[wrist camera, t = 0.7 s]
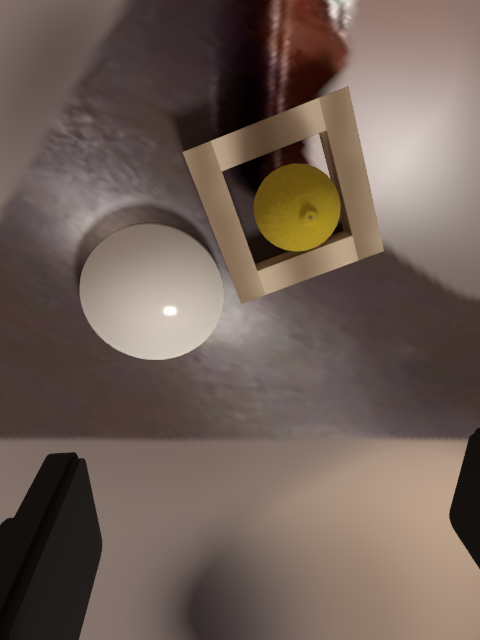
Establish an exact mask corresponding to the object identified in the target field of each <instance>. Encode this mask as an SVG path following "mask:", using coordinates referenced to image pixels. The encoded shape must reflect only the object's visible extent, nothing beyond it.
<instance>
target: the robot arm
mask: <svg viewBox="0 0 480 640" xmlns="http://www.w3.org/2000/svg"><path fill="white" fill-rule="evenodd" d="M449 517H450V522H451V524H452V527H453V529H454V530H455V532H456V533H457V535H458V537H459V538H460V540H461V541H462V542H463V544H464V545H465V547H466V549H467V550H468V552H469V553H470V555H471V556H472V558H473V559H474V561H475V562H476V564H477V565H478V567H479V569H480V428H478V429H477V430H476V431H475V433H474V434H472V435H471V436H470V438H469V440H468V444H467V449H466V452H465V456H464V460H463V463H462V467H461V471H460V475H459V478H458V483H457V486H456V490H455V493H454V497H453V501H452V505H451V509H450V513H449ZM101 552H102V537H101V532H100V527H99V523H98V518H97V513H96V508H95V504H94V499H93V494H92V489H91V484H90V480H89V475H88V470H87V465H86V461H85V459H83V458H81V459H78V456H77V454H76V453H74V452H71V453H56V454H49V455H47V457H46V459H45V460H44V462H43V464H42V466H41V468H40V470H39V471H38V473H37V475H36V477H35V479H34V481H33V483H32V485H31V487H30V488H29V490H28V492H27V494H26V496H25V498H24V500H23V502H22V503H21V505H20V507H19V509H18V511H17V513H16V515H15V517H14V518H8V519H6V520H5V521H4V522H2V524H1V525H0V640H79V637H80V633H81V629H82V625H83V621H84V618H85V614H86V610H87V606H88V602H89V599H90V595H91V591H92V588H93V583H94V580H95V576H96V572H97V569H98V565H99V561H100V557H101Z"/></svg>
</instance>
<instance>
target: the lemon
mask: <svg viewBox="0 0 480 640" xmlns="http://www.w3.org/2000/svg"><path fill="white" fill-rule="evenodd" d="M340 208H341V204H340V198H339V194H338V191H337V189H336V187H335V185H334V183H333V182H332V181H331V179H330V178H329V177H328V176H327V175H326V174H325V173H323V172H322V171H320V170H319V169H317V168H316V167H313V166H310V165H307V164H289V165H285V166H282V167H280V168H278V169H276V170H274V171H273V172H271V173H270V174H269V175H268V176H267V177H266V178H265V179H264V180H263V182H262V183H261V185H260V186H259V188H258V191H257V193H256V196H255V201H254V215H255V221H256V223H257V225H258V228H259V230H260V231H261V233H262V234H263V235H264V237H265V238H266V239H267V240H268V241H270V242H271V243H272V244H273V245H275V246H277V247H279V248H282V249H284V250H289V251H296V252H297V251H305V250H309V249H312V248H314V247H317V246H319V245H320V244H322V243H323V242H325V241H326V240H327V239H328V238H329V236H330V235H331V234H332V233H333V231H334V229H335V228H336V226H337V223H338V220H339V217H340Z"/></svg>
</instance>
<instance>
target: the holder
mask: <svg viewBox="0 0 480 640" xmlns="http://www.w3.org/2000/svg"><path fill="white" fill-rule="evenodd" d="M318 133H319V134H320V139H321V143H322V147H323V151H324V154H325V159H326V162H327V166H328V170H329V174H330V178H331V181H332V182H333V183H334V185H335V187H336V189H337V191H338V194H339V198H340V204H341V208H340V218H341V222H342V226H343V230H344V231H342V232H339V233H337V234H334V235H331V236H329V238H328V239H327V240H326V241H325V242H323V243H322V244H320V245H319V246H317V247H314V248H312V249H309V250H305V251H297V252H296V251H289V252H286V253H283V254H281V255H278V256H275V257H273V258H270V259H267V260H265V261H262V262H260V263H257V264H255V263H254V261H253V258H252V255H251V252H250V249H249V247H248V244H247V241H246V238H245V235H244V233H243V230H242V227H241V224H240V221H239V219H238V216H237V213H236V210H235V207H234V205H233V202H232V199H231V196H230V193H229V191H228V188H227V185H226V182H225V179H224V177H223V174H222V171H224V170H226V169H229V168H232V167H234V166H237V165H239V164H242V163H244V162H247V161H249V160H252V159H254V158H257V157H260V156H262V155H265V154H267V153H270V152H272V151H275V150H277V149H280V148H282V147H285V146H287V145H290V144H293V143H295V142H298V141H300V140H303V139H305V138H308V137H310V136H313V135H315V134H318ZM183 155H184V157H185V160H186V162H187V165H188V167H189V170H190V173H191V175H192V178H193V180H194V183H195V185H196V188H197V191H198V193H199V196H200V198H201V201H202V203H203V206H204V209H205V211H206V214H207V216H208V219H209V221H210V224H211V227H212V229H213V232H214V234H215V237H216V239H217V242H218V245H219V247H220V250H221V252H222V255H223V257H224V260H225V263H226V265H227V268H228V270H229V273H230V276H231V278H232V281H233V283H234V286H235V288H236V291H237V294H238V296H239V299H240V301H241V304H242V303H245V302H247V301H250V300H253V299H255V298H258V297H261V296H264V295H266V294H269V293H272V292H274V291H277V290H280V289H282V288H285V287H288V286H291V285H293V284H296V283H299V282H301V281H304V280H307V279H309V278H312V277H315V276H318V275H320V274H323V273H326V272H328V271H331V270H334V269H336V268H339V267H342V266H345V265H347V264H350V263H353V262H355V261H358V260H361V259H363V258H366V257H369V256H372V255H374V254H377V253H380V252H382V251H384V250H383V245H382V241H381V236H380V232H379V227H378V223H377V217H376V213H375V209H374V204H373V199H372V194H371V190H370V185H369V180H368V176H367V171H366V166H365V162H364V157H363V153H362V148H361V143H360V139H359V134H358V129H357V125H356V120H355V115H354V111H353V106H352V102H351V97H350V92H349V87H348V86H347V87H345V88H342V89H340V90H337V91H335V92H332V93H330V94H327V95H325V96H322V97H320V98H317V99H315V100H312V101H310V102H307V103H305V104H302V105H300V106H297V107H295V108H292V109H290V110H287V111H285V112H282V113H280V114H277V115H275V116H272V117H270V118H267V119H265V120H262V121H260V122H257V123H255V124H252V125H250V126H247V127H245V128H242V129H240V130H237V131H235V132H232V133H230V134H227V135H225V136H222V137H220V138H217V139H215V140H212V141H209V142H207V143H204V144H202V145H199V146H197V147H194V148H192V149H189V150H187V151H184V152H183Z"/></svg>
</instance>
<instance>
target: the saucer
mask: <svg viewBox="0 0 480 640" xmlns="http://www.w3.org/2000/svg"><path fill="white" fill-rule="evenodd" d="M80 299H81V304H82V308H83V311H84V314H85V316H86V318H87V320H88V322H89V323H90V325H91V326H92V328H93V329H94V330H95V332H96V333H97V334H98V335H99V336H100V337H101V338H102V339H103V340H104V341H105V342H106V343H108V344H109V345H111V346H112V347H113V348H115V349H117V350H119V351H121V352H123V353H125V354H128V355H130V356H134V357H137V358H142V359H150V360H161V359H169V358H174V357H177V356H181V355H183V354H186V353H188V352H190V351H192V350H193V349H195V348H197V347H198V346H199V345H200V344H202V343H203V342H204V341H205V340H206V339H207V338H208V337H209V336H210V334H211V333H212V332H213V330H214V329H215V327H216V325H217V324H218V321H219V319H220V316H221V313H222V309H223V303H224V289H223V282H222V277H221V273H220V270H219V268H218V265H217V263H216V261H215V259H214V258H213V256H212V255H211V253H210V252H209V251H208V250H207V248H206V247H205V246H204V245H203V244H202V243H201V242H200V241H199V240H197V239H196V238H195V237H193V236H192V235H190V234H189V233H187V232H185V231H183V230H181V229H179V228H176V227H173V226H170V225H166V224H161V223H139V224H133V225H130V226H127V227H124V228H122V229H119V230H117V231H115V232H114V233H112V234H111V235H109V236H108V237H107V238H105V239H104V240H103V241H102V242H101V243H100V244H99V245H97V246H96V248H95V249H94V250H93V251H92V252H91V254H90V255H89V257H88V259H87V260H86V263H85V265H84V267H83V270H82V274H81V278H80Z"/></svg>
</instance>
